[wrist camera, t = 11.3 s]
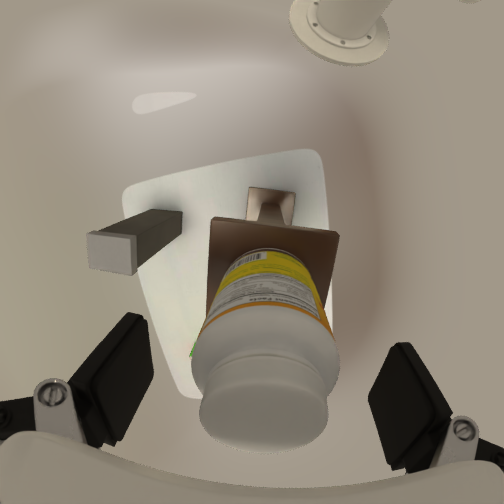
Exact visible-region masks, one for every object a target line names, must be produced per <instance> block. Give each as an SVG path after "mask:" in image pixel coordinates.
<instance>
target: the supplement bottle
mask: <svg viewBox="0 0 504 504" xmlns="http://www.w3.org/2000/svg"><path fill="white" fill-rule="evenodd" d="M191 367H192V375H193V378H194V380H195V383H196V385H197V387H198V389H199V390H200V392H201V393H202V394H203V398H202V402H201V406H200V410H199V415H200V421H201V423H202V425H203V427H204V429H205V430H206V431H207V432H208V434H209V435H210V436H211V437H213V438H214V439H215V440H217V441H219V442H220V443H222V444H224V445H226V446H228V447H230V448H233V449H236V450H240V451H244V452H249V453H258V454H272V453H281V452H286V451H291V450H294V449H297V448H300V447H302V446H304V445H306V444H308V443H310V442H312V441H313V440H314V439H315V438H317V437H318V436H319V435H320V434H321V433H322V431H323V430H324V429H325V427H326V425H327V421H328V406H327V396H328V395H329V394H330V393H331V391H332V389H333V388H334V385H335V384H336V381H337V379H338V375H339V369H340V359H339V354H338V349H337V346H336V343H335V340H334V337H333V334H332V331H331V328H330V325H329V322H328V319H327V316H326V313H325V310H324V309H323V306H322V303H321V300H320V298H319V295H318V292H317V289H316V287H315V284H314V281H313V279H312V276H311V274H310V272H309V270H308V269H307V267H306V266H305V265H304V264H303V263H302V262H301V261H300V260H299V259H298V258H297V257H295V256H294V255H292V254H290V253H288V252H286V251H283V250H280V249H274V248H261V249H256V250H252V251H249V252H247V253H245V254H243V255H242V256H240V257H239V258H237V259H236V260H235V261H234V262H233V263H232V264H231V265H230V267H229V268H228V270H227V271H226V273H225V275H224V277H223V279H222V282H221V284H220V286H219V289H218V291H217V293H216V295H215V298H214V300H213V302H212V305H211V307H210V310H209V312H208V314H207V317H206V319H205V321H204V324H203V326H202V328H201V331H200V333H199V336H198V338H197V341H196V344H195V347H194V350H193V353H192V360H191Z"/></svg>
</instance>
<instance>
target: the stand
mask: <svg viewBox="0 0 504 504" xmlns="http://www.w3.org/2000/svg"><path fill="white" fill-rule="evenodd" d="M295 195H296V193H295V192H288V191H280V190H272V189H263V188H254V187H249V192H248V202H247V211H246V220H242V219H232V218H223V217H214V218H212V219H211V225H210V240H209V257H208V276H207V299H206V317H207V314H208V312H209V310H210V307H211V305H212V302H213V300H214V298H215V295H216V293H217V291H218V289H219V286H220V284H221V282H222V279H223V277H224V275H225V273H226V271H227V270H228V268H229V267H230V265H231V264H232V263H233V262H234V261H235V260H236V259H237V258H239V257H240V256H242V255H243V254H245V253H247V252H249V251H252V250H256V249H261V248H274V249H280V250H283V251H286V252H288V253H290V254H292V255H294V256H295V257H297V258H298V259H299V260H300V261H301V262H302V263H303V264H304V265H305V266H306V267H307V269H308V270H309V272H310V274H311V276H312V279H313V281H314V284H315V287H316V289H317V292H318V295H319V298H320V300H321V303H322V306H323V309H324V307H325V303H326V299H327V295H328V291H329V286H330V282H331V277H332V272H333V267H334V263H335V258H336V253H337V248H338V243H339V237H340V235H339V234H338V233H337V232H336V231H329V230H322V229H315V228H307V227H300V226H292V217H293V210H294V202H295Z"/></svg>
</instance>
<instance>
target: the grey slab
mask: <svg viewBox="0 0 504 504" xmlns="http://www.w3.org/2000/svg"><path fill="white" fill-rule="evenodd" d="M181 229H182V212H179V211H168V210H156V209H151V210H148V211H146V212H143V213H140V214H138V215H135V216H133V217H130V218H128V219H125V220H123V221H120V222H118V223H116V224H113V225H111V226H109V227H106V228H104V229H101V230H99V231H91V232H89V233H87V235H86V236H87V250H88V261H89V268H92V269H96V270H102V271H108V272H112V273H118V274H124V275H129V276H132V275H133V274H135V273H136V272H137V268H138V267H140V266H141V265H142V264H143V263H145V262H146V261H147V260H148V259H150V258H151V257H152V256H153V255H155V254H156V253H157V252H158V251H160V250H161V249H162V248H163V247H165V246H166V245H167V244H169V243H170V242H171V241H173V240H174V239H175V238H176V237H178V236H179V235H180V234H181Z"/></svg>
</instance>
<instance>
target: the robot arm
mask: <svg viewBox="0 0 504 504" xmlns="http://www.w3.org/2000/svg"><path fill="white" fill-rule="evenodd" d="M391 1H392V0H314V1H313V2H312V3H311V4H310V5H309V7H308V9H307V14H306V18H307V22H308V24H309V27H310V28H311V29H312V31H313V32H314V33H315V34H316V35H317V36H318V37H319V38H321V39H322V40H324V41H325V42H327V43H329V44H331V45H334V46H336V47H340V48H344V49H359V48H363V47H365V46H367V45H368V44H370V43H371V42H372V41H373V39H374V38H375V36H376V24H375V22H376V21H377V19H378V18H379V17H380V15H381V14H382V13H383V12H384V10H385V9H386V8H387V7H388V5H389V4H390V3H391ZM459 1H461V2H464V3H476V2H478V1H480V0H459ZM341 43H342V44H341ZM153 375H154V369H153V363H152V356H151V348H150V340H149V332H148V323H147V320H145V319H144V318H143V316H142V315H140V314H135V313H131V312H128V313H126V314H125V316H124V317H123V318H122V319H121V320H120V321H119V322H118V323H117V324H116V326H115V327H114V328H113V329H112V330H111V331H110V332H109V334H108V335H107V336H106V337H105V338H104V339H103V341H101V342H100V343H99V345H98V346H97V347H96V348H95V349H94V351H93V352H92V353H91V354H90V355H89V356H88V358H87V359H86V360H85V361H84V362H83V364H82V365H81V366H80V367H79V368H78V370H77V371H76V372H75V373H74V375H73V376H72V377H71V378H70V380H69V381H68V382H67V383H66V382H65V381H63V380H61V379H57V378H50V379H47V380H44V381H43V382H40V383H39V384H38V386H36V388H35V390H34V396H32V397H26V398H21V399H14V400H8V401H1V402H0V504H504V448H502V447H500V446H497V445H495V444H492V443H490V442H488V441H485V440H483V439H481V438H479V429H478V426H477V424H476V423H475V422H474V421H473V420H472V419H470V418H469V417H466V416H457V417H455V418H454V419H451V418H450V416H451V415H452V414H453V412H452V410H451V408H450V407H449V405H448V403H447V401H446V400H445V398H444V396H443V394H442V393H441V391H440V389H439V387H438V386H437V384H436V382H435V381H434V379H433V377H432V376H431V374H430V373H429V371H428V369H427V368H426V366H425V365H424V363H423V362H422V360H421V358H420V357H419V355H418V354H417V352H416V350H415V349H414V347H413V346H412V345H411V344H410V343H409V342H402V343H400V342H398V343H396V344H395V345H394V346H393V347H391V348H390V350H389V353H388V355H387V357H386V359H385V361H384V364H383V366H382V368H381V370H380V372H379V375H378V376H377V378H376V380H375V382H374V385H373V386H372V388H371V390H370V392H369V395H368V402H369V405H370V408H371V412H372V415H373V418H374V421H375V424H376V427H377V430H378V434H379V437H380V441H381V444H382V447H383V451H384V454H385V458H386V461H387V464H389V465H391V468H392V471H394V470H398V469H403V468H405V469H406V473H405V475H403V476H399V477H394V478H389V479H384V480H379V481H374V482H367V483H361V484H353V485H345V486H333V487H319V488H266V487H252V486H241V485H233V484H225V483H218V482H211V481H206V480H200V479H195V478H190V477H186V476H181V475H177V474H173V473H169V472H165V471H162V470H158V469H155V468H151V467H147V466H144V465H141V464H138V463H135V462H132V461H128V460H126V459H123V458H120V457H117V456H115V455H112V454H110V453H107V452H104V451H102V450H101V449H100V447H102V445H103V443H106V444H108V445H111V446H113V447H114V446H115V444H116V442H117V441H121V440H122V439H123V437H124V435H125V433H126V431H127V429H128V427H129V425H130V423H131V421H132V419H133V417H134V415H135V413H136V411H137V409H138V407H139V405H140V403H141V401H142V399H143V397H144V395H145V393H146V391H147V389H148V387H149V385H150V383H151V381H152V379H153Z"/></svg>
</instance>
